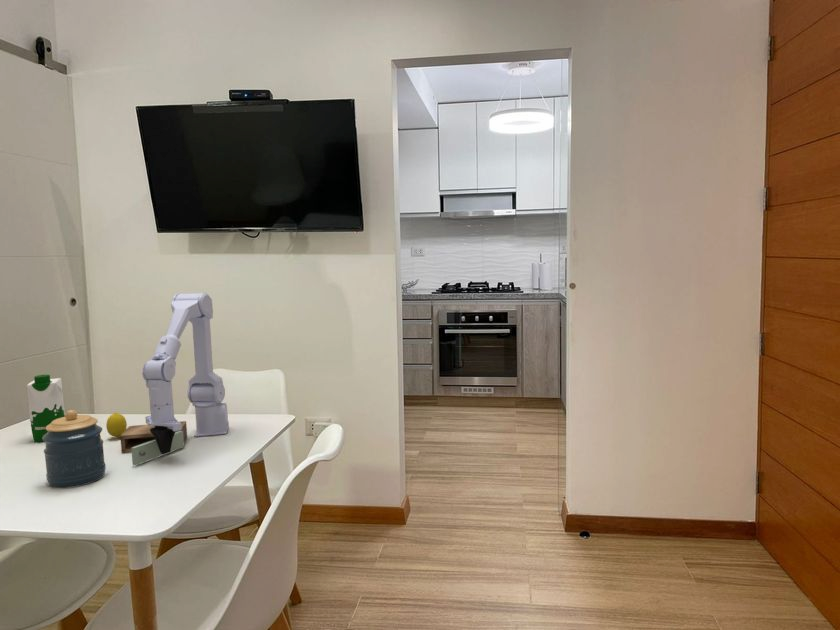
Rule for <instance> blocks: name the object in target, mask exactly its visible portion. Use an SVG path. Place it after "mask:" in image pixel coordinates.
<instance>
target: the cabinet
mask: <svg viewBox="0 0 840 630" xmlns="http://www.w3.org/2000/svg"><path fill="white" fill-rule="evenodd" d="M179 422H180V423H181V427H182V430H179V431H183V438H184V444H185V443H186V440H187V438H188V430H187V429H188V428H187V421H186V420H183V421H179ZM151 428H155V426H149V425H147V424H140V425H139V424H137V425H129V426H127V428H126V430H125V431H124V432H123V433H122V435H121V436H120V437H119V439H120V445H121V446H120V449H121V450H120V451H121V454H128V453H132V450H131V448H132V447H135V446H138V445H141V444H144V443H147V442H149V441H152V440H155V438H154V436H153V434H152V433H151V432H150V429H151ZM176 432H178V431H176Z"/></svg>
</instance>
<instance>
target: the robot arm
mask: <svg viewBox="0 0 840 630" xmlns="http://www.w3.org/2000/svg"><path fill="white" fill-rule="evenodd" d="M170 306H171V307H170V309H171V311H172V315H171V319H170V322H169V325H168V329H167V331H166V333H165V334H166V335H163V336H161V337H160V338H159V340H158V343H157V345H156V347H155V349H154V352H153V354H152V357H151V359H149V360H147V361H146V362H145V363H144V364H143V367H142V371H141V372H142V373H141V374H142V378H143V380H144V381H145V386H146V388H148V396H149V410H150V415H147V416H145V424H146V425H149V426H155V428H151V429H150V432H151V433H152V434H153V436H154V438H155V440H156V442H157V444H158V447H159V450H160V453H161V454H164V455H167V454H169V453H171V452H170V451H171V445H172V440H173V437H174V434H175V432H176V431H179V430H182V427H181V423H180V422H181V421H178V419H176V417H175V412H174V411H175V410H174V399H173V396H174V395H173V386H172V385H173V384H172V380H173V378H174V376H175V375H176V365H177V362H176V359H177V356H178V354H179V352H180V349H181V347H182V342H181V341H180V338H181V336H182V334H183V333H184V331H185V329H186V326H187V325H188V322H190V323H191V325H192V340H193V353H194V355H193V356H194V372H195V374H194V375H193V376H192V377H190V379H188V387H187V388H188V389H187V393H186V394H187V399H188V401H189V403H191V404H192V406H193V407H194V410H195V411H194V412H195V424H196V425H195V426H196V429H195V432H194V434H193V436H194V437H197V438H198V437H208V436H215V435H216V436H217V435H225V434H228V431H229V426H230V423H229V422H230V421H229V417H228V416H229V415H228V414H229V413H228V405H227V403H226V402H223V401H224V399H225V396H226V388H225V386H224V383H223V382H224V381H223V378H222V377H221V376H220V375H219V374H217V373H215V372H214V368H213V367H214V366H213V350H212V347H213V346H212V333H211V320H212V319H213V318H214V317H213V316H214V311H213V310H214V309H213V308H214V307H213V299H212V298H211V296H210V295H209V294H208V293H207V292H201V293H198V292H197V293H178V292H177V293H175V294H174V295H173V297H172V299H171V305H170Z"/></svg>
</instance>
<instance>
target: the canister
mask: <svg viewBox="0 0 840 630" xmlns="http://www.w3.org/2000/svg"><path fill="white" fill-rule="evenodd" d="M97 423H99V421H98V419H97V418H96V417H94V416H93V417H92V415H89V414H78V412H77V411H76V410H75V409H69V410H67V411H65V417H62V418H58V419H56V420H54V421H52V422H51V423H50V424H49V425H47V426H46V428H45V429H46V430H47V431H48V432H47V433H46V434H45V435H44V436H43V437H42V439H43V441H45V442H44V443H45V448H44V450H43V453H44V460H45V469H46V474H45V477H46V481H47V484H48V486H49V487H52V488H58V489H59V488H61V489H62V488H63V489H66V488H74V487H79V486H84V485H88V484H91V483H93V482H96V481H98V480H100V479H102V478H103V477H104V476H105V475H106V468H107V467H106V463H105V454H104V440H103V438H102V436H101V433H102V432H103V428H102V427H101V426H100V425H97Z"/></svg>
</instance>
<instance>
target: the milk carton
mask: <svg viewBox="0 0 840 630" xmlns="http://www.w3.org/2000/svg"><path fill="white" fill-rule="evenodd" d="M62 382H63V381H62V378H61V377H59V378H51V375H50V374H39V375H35V376H34V379H33V381H30V382H29V383H28V384H26V391H27V392H26V393H27V400H28V403H27V404H28V411H29V419H30V428H31V434H32V439H33V443H35V444H36V443H45V441H43V439H42V437H43V436H44V435H45V434H46V433H47V432H48V431H47V430H46V429H45V428H46V426H47V425H49V424H50V423H51V422H52V421H54V420H56V419H58V418H62V417H65V414H66V411H65V410H66V409H65V401H64V393H63V390H64V389H63V383H62Z"/></svg>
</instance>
